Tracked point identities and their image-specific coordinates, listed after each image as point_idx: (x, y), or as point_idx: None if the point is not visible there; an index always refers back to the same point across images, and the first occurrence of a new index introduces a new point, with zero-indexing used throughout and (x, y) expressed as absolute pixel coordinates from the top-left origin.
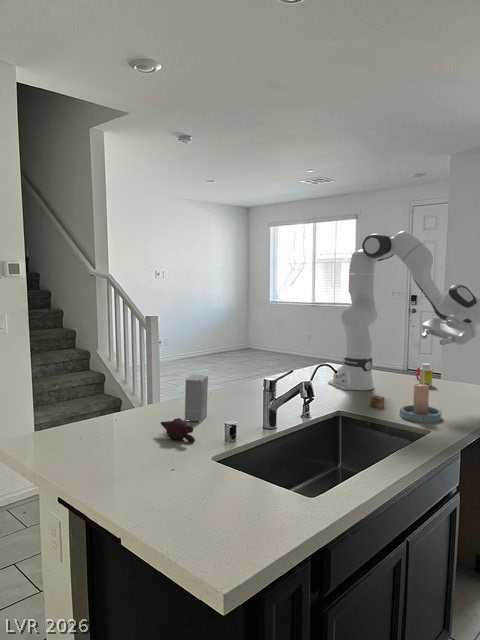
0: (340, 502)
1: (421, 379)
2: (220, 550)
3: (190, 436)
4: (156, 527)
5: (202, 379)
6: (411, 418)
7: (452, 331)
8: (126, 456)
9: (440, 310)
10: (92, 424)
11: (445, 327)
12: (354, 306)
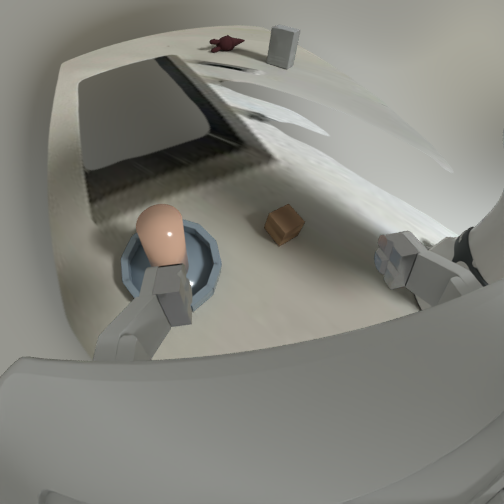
0: (63, 90)
1: None
2: (79, 60)
3: (214, 47)
4: (112, 47)
5: (277, 27)
6: None
7: (139, 431)
8: (205, 38)
9: None
10: None
11: (370, 447)
12: None
